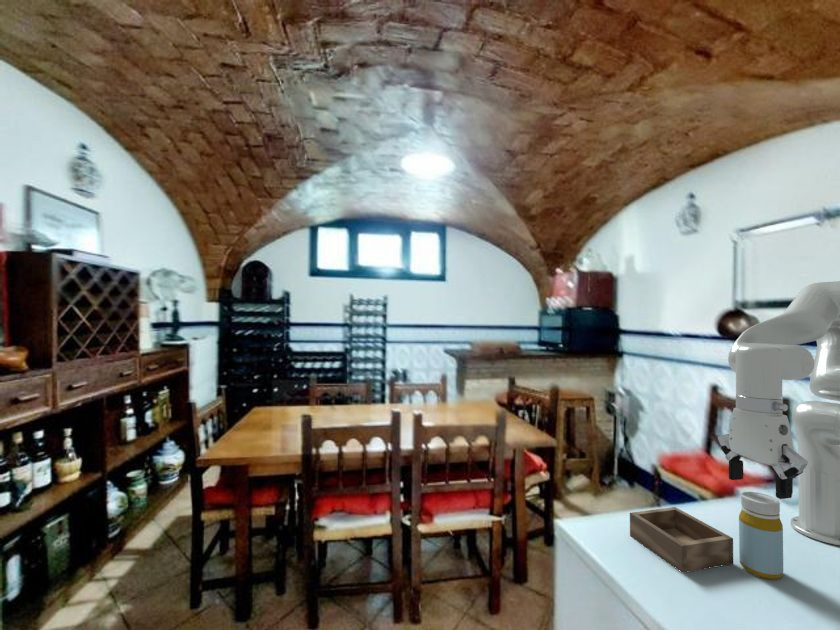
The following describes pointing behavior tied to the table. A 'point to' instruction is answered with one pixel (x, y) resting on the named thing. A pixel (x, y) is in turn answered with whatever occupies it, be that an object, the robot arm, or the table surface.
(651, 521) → the brown box
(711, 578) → the table surface
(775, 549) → the bottle
